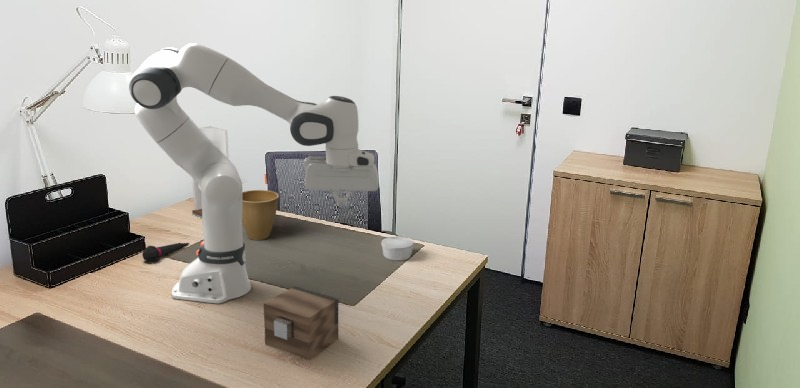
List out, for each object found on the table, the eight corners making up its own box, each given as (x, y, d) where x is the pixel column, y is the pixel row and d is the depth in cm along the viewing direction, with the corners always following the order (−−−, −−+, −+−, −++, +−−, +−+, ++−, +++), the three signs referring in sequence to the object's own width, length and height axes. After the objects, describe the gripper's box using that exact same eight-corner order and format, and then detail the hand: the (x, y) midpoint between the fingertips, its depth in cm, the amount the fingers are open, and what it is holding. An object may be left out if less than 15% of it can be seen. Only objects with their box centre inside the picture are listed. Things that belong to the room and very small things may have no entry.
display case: (192, 215, 249) (186, 129, 239) (215, 209, 257) (210, 126, 247) (208, 221, 242) (203, 133, 232) (231, 215, 250) (227, 130, 240)
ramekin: (412, 250, 220) (413, 236, 218) (414, 262, 209) (414, 248, 207) (381, 249, 219) (381, 235, 218) (381, 262, 208) (381, 247, 207)
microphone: (184, 252, 220) (141, 265, 202) (180, 236, 220) (136, 248, 202) (196, 250, 218) (153, 263, 200) (192, 234, 218) (149, 246, 199)
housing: (309, 360, 149) (308, 318, 146) (265, 344, 156) (263, 303, 152) (338, 339, 159) (338, 299, 156) (295, 324, 166) (294, 286, 162)
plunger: (287, 339, 148) (286, 324, 147) (274, 335, 150) (273, 320, 149) (322, 316, 160) (322, 302, 159) (310, 312, 162) (309, 298, 161)
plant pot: (233, 243, 221) (230, 200, 217) (245, 229, 235) (243, 188, 231) (274, 245, 221) (272, 202, 216) (283, 230, 235) (282, 190, 230)
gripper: (301, 158, 165) (302, 207, 169) (378, 160, 165) (377, 209, 169) (305, 152, 171) (306, 200, 175) (379, 154, 171) (378, 202, 175)
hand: (341, 205), depth 172 cm, fingers closed
